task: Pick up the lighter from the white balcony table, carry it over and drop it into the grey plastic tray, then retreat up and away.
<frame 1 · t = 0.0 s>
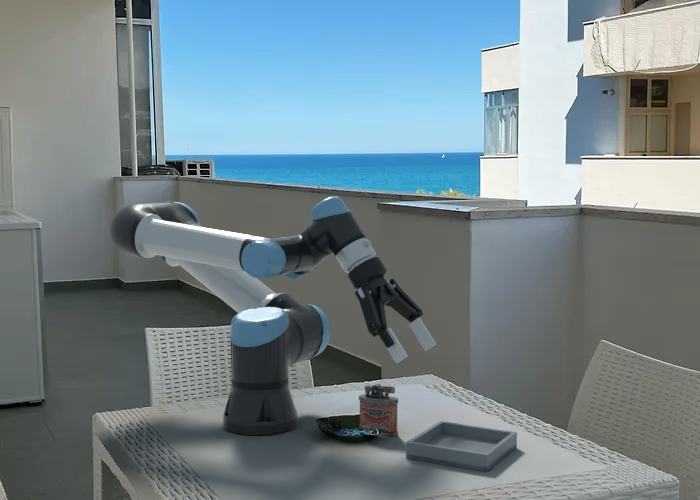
hand: (417, 353, 186), 15 cm above the table, tool tilted 35°, fingers open, 13 cm apart
lighter: (378, 435, 184), on the table
tray: (462, 452, 172), on the table
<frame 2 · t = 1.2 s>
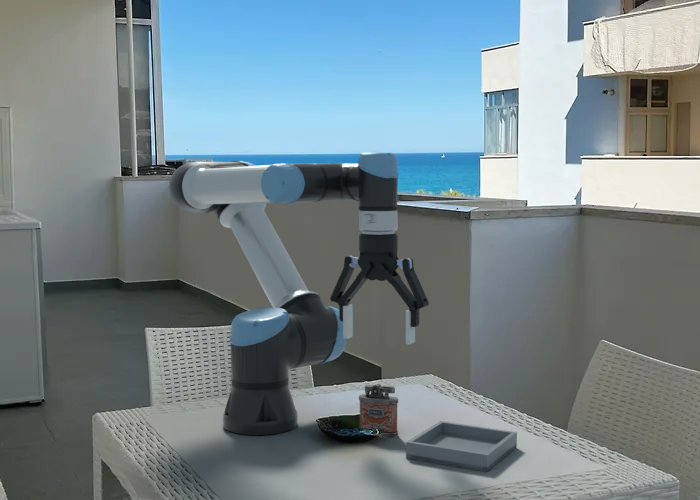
hand: (378, 340, 182), 19 cm above the table, tool pointing down, fingers open, 13 cm apart
nothing on the table moved.
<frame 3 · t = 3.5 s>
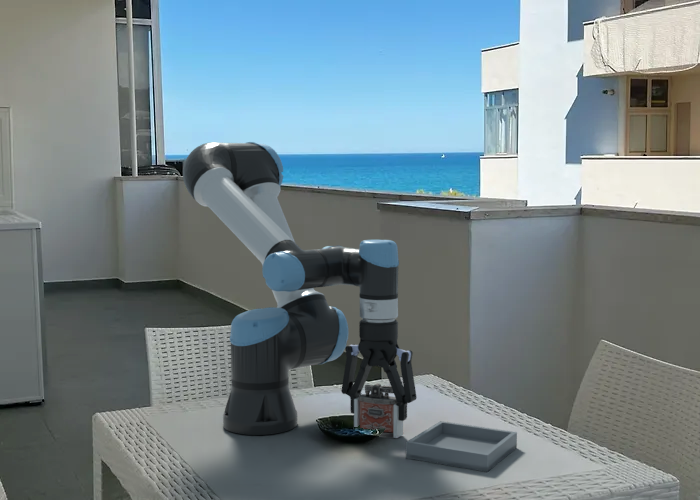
hand: (378, 432, 184), 0 cm above the table, tool pointing down, fingers closed on lighter, 8 cm apart
lighter: (378, 435, 184), on the table, touching gripper
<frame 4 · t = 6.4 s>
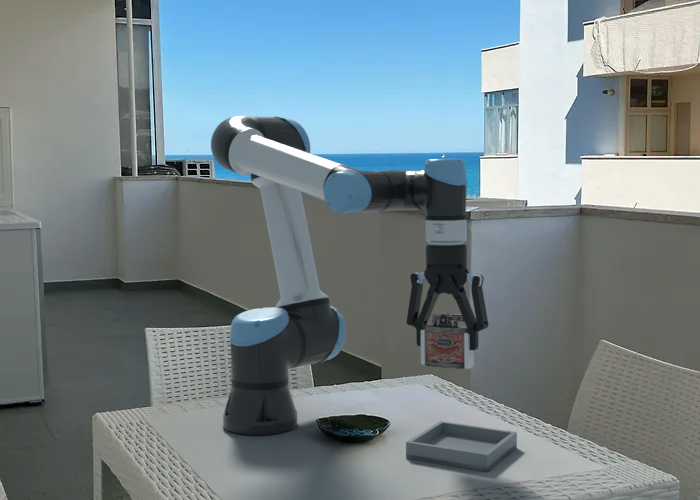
hand: (447, 365, 172), 16 cm above the table, tool pointing down, fingers closed on lighter, 8 cm apart
lighter: (447, 367, 172), point 16 cm above the table, touching gripper
when the fingers open (4 cm above the table, at t = 9.3 s): lighter drops 2 cm, resting on tray.
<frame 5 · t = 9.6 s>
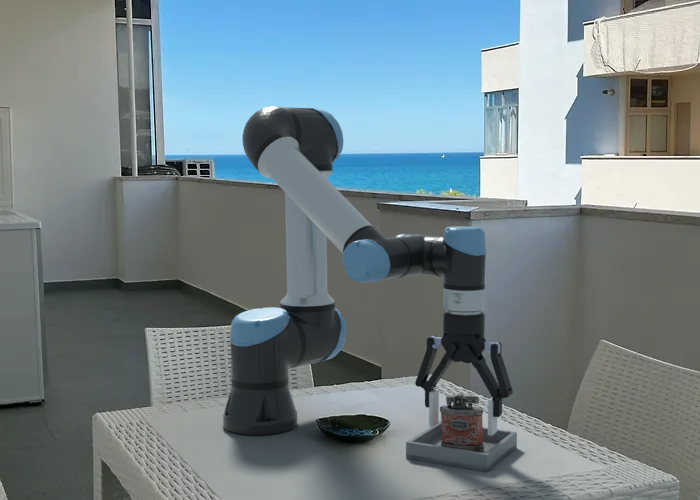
hand: (462, 429, 171), 4 cm above the table, tool pointing down, fingers open, 11 cm apart
lighter: (462, 448, 172), point 1 cm above the table, touching tray
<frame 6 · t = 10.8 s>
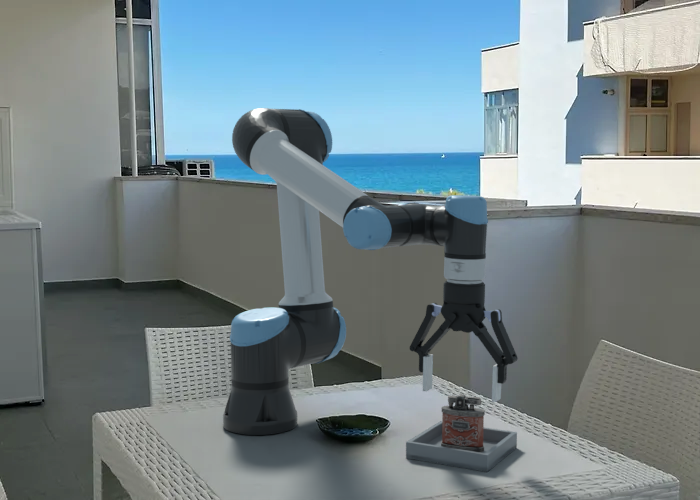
hand: (461, 395, 171), 11 cm above the table, tool pointing down, fingers open, 13 cm apart
nothing on the table moved.
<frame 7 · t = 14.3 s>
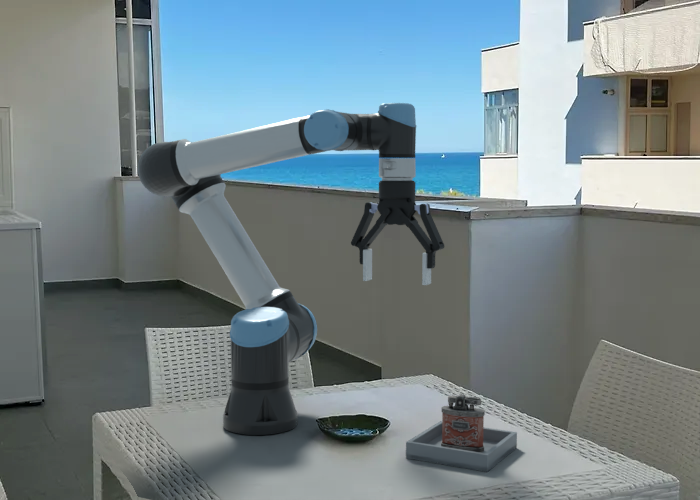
hand: (396, 282, 192), 29 cm above the table, tool pointing down, fingers open, 13 cm apart
nothing on the table moved.
at the end: lighter inside the target area on the tray (0.0 cm from its centre), point 0.6 cm above the tray's base; the gripper is holding nothing; lighter moved 19.3 cm from its start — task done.
